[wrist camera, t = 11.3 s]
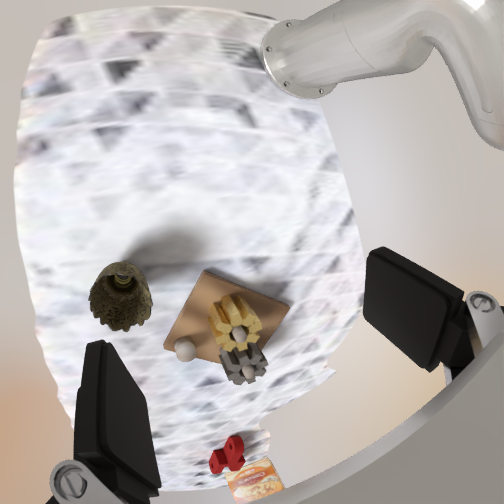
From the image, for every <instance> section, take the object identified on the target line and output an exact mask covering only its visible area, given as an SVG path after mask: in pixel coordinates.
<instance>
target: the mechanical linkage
mask: <svg viewBox="0 0 504 504" xmlns="http://www.w3.org/2000/svg"><path fill="white" fill-rule="evenodd" d="M243 452H244V443H243V440H242V439H241V437H240V436H235V437H228V439H227V442H226V444H225V446H224V448H223V449H222V450H214V451H213V453H212V456H211V458H210V460H209V466H210V470H211V472H212V473H213V474H218V473H221V472H222V470H223V469H224V467H229V469H230V470H231V471H232V472H234V471H239V470H240V469H241V468H242V466H243V465H244V463H245V462H246V461H245V459H244V457H243Z"/></svg>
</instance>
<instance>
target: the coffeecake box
mask: <svg viewBox="0 0 504 504" xmlns="http://www.w3.org/2000/svg"><path fill="white" fill-rule="evenodd" d="M225 477H226V480H227V482H228V485H229V487H230V489H231V492H232V495H233V497H234V499H235V502H236V504H245V503H248V502H251V501H254V500H257V499H260V498H263V497H266V496H268V495H271V494H274V493H276V492H279V491H281V490H284V489H286V488H285V486H284V484H283V483H282V481H281V479H280V477H279V475H278V473H277V471H276V470H275V468H274V466H273V464H272V462H271V461H270V460H269V459H268V457H267V458H264V459H262V460H260V461H257V462H255V463H252V464H250V465H247V466H245V467H242V468H241V469H240V470H239V471H234V472H232V471H231V472H228V473H225Z"/></svg>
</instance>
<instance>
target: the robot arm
mask: <svg viewBox="0 0 504 504" xmlns="http://www.w3.org/2000/svg"><path fill="white" fill-rule="evenodd" d="M434 47H435V48H436V49H437V50H438V51H439V52H440V54H441V56H442V57H443V59H444V61H445V63H446V65H447V66H448V68H449V70H450V72H451V74H452V76H453V78H454V81H455V83H456V86H457V88H458V90H459V93H460V95H461V98H462V100H463V103H464V105H465V108H466V110H467V113H468V115H469V118H470V120H471V123H472V125H473V126H474V128H475V130H476V132H477V133H478V134H479V136H480V137H481V138H482V139H483V140H484V141H485V142H486V143H488V144H489V145H490V146H493V147H494V148H497V149H499V150H503V151H504V0H340V1H338V2H336V3H334V4H332V5H330V6H328V7H327V8H325V9H323V10H321V11H319V12H317V13H315V14H314V15H312V16H310V17H308V18H307V19H305V20H287V21H283V22H280V23H278V24H277V25H275V26H274V27H272V28H271V29H270V30H269V31H268V32H267V33H266V35H265V37H264V39H263V41H262V45H261V59H262V64H263V66H264V68H265V71H266V73H267V74H268V76H269V77H270V79H271V80H272V81H273V82H274V83H275V85H276V86H278V87H279V88H280V89H281V90H282V91H284V92H286V93H288V94H289V95H292V96H294V97H297V98H302V99H314V98H319V97H323V96H325V95H327V94H328V93H330V92H331V91H332V90H333V89H334V88H335V87H336V85H337V84H338V83H341V82H346V81H352V80H358V79H365V78H371V77H379V76H386V75H395V74H404V73H408V72H411V71H414V70H416V69H417V68H419V67H420V66H421V65H422V64H423V63H424V62H425V61H426V60H427V58H428V57H429V55H430V53H431V52H432V50H433V48H434ZM267 50H268V51H267ZM284 84H285V86H284ZM463 296H464V291H462V290H461V289H459V288H457V287H456V286H454V285H452V284H451V283H449V282H447V281H445V280H444V279H442V278H440V277H439V276H437V275H435V274H434V273H432V272H430V271H428V270H427V269H425V268H423V267H421V266H419V265H418V264H416V263H414V262H412V261H410V260H409V259H407V258H405V257H403V256H401V255H399V254H398V253H396V252H394V251H392V250H390V249H388V248H386V247H380V248H377V249H374V250H372V251H371V252H370V253H369V256H368V257H367V261H366V279H365V292H364V304H363V316H364V318H365V320H367V322H369V323H370V324H371V325H372V326H373V327H375V328H376V329H377V330H378V331H379V332H380V333H382V334H383V335H384V336H385V337H386V338H387V339H388V340H390V341H391V342H392V343H393V344H394V345H395V346H396V347H398V348H399V349H400V350H401V351H402V352H403V353H405V354H406V355H407V356H408V357H409V358H410V359H411V360H412V361H414V362H415V363H416V364H417V365H418V366H419V367H421V368H425V369H426V370H427V371H428V372H432V371H433V370H434V369H435V368H436V367H437V366H439V363H440V361H441V362H442V363H443V366H444V372H445V379H446V387H445V388H444V389H443V390H442V391H441V392H440V393H439V394H437V395H436V396H435V397H434V398H433V399H432V400H430V401H429V402H428V403H427V404H426V405H424V406H423V407H422V408H421V409H420V410H418V411H417V412H416V413H415V414H413V415H412V416H411V417H409V418H408V419H407V420H405V421H404V422H403V423H401V424H400V425H399V426H397V427H396V428H394V429H393V430H392V431H390V432H389V433H387V434H386V435H384V436H383V437H382V438H380V439H379V440H377V441H375V442H374V443H372V444H371V445H370V446H368V447H366V448H365V449H363V450H361V451H360V452H358V453H356V454H355V455H353V456H351V457H350V458H348V459H346V460H344V461H342V462H340V463H339V464H337V465H335V466H333V467H331V468H329V469H327V470H325V471H324V472H321V473H320V474H317V475H316V476H313V477H311V478H309V479H307V480H305V481H303V482H300V483H298V484H296V485H293V486H291V487H289V488H286V489H284V490H281V491H279V492H276V493H274V494H271V495H268V496H266V497H263V498H260V499H257V500H254V501H251V502H248V503H245V504H504V306H499V304H498V302H497V300H496V299H495V298H494V297H493V296H491V295H490V294H488V293H485V292H482V291H473V292H471V293H469V294H468V295H467V297H466V301H465V302H464V301H462V298H463ZM50 487H51V491H52V493H53V496H52V497H51V498H50V499H49V500H48V502H47V503H46V504H150V500H149V498H150V497H157V496H159V493H158V488H161V480H160V475H159V471H158V466H157V462H156V457H155V452H154V446H153V441H152V435H151V429H150V423H149V416H148V409H147V402H146V399H145V396H144V394H143V393H142V391H141V390H140V388H139V387H138V385H137V384H136V382H135V381H134V379H133V378H132V376H131V375H130V373H129V371H128V370H127V368H126V367H125V365H124V363H123V362H122V360H121V359H120V357H119V355H118V353H117V352H116V350H115V348H114V347H113V345H112V344H111V343H110V342H109V343H106V342H105V341H104V340H99V341H95V342H91V343H88V344H87V346H86V352H85V358H84V365H83V372H82V380H81V387H80V388H79V389H78V392H77V400H76V411H75V426H74V460H65V461H62V462H60V463H59V464H58V465H56V466H55V468H54V469H53V470H52V473H51V476H50Z"/></svg>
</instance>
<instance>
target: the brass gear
mask: <svg viewBox="0 0 504 504" xmlns="http://www.w3.org/2000/svg"><path fill="white" fill-rule="evenodd" d="M220 298H221V305H219V304H218V305H217V304H215V303H213V304H212V305H211V307H210V308H209V312H210V315H211V316H209V317H207V319H208V322H209V325H210V328H211V330H212V333H213V335H214V337H215V340H216V342H217V345H218V344H221V346H222V349H223V350H226V351H229V352H231V350H232V349H233V348H235V347H237V348H238V350H239V351H242V350H245V349H248V348H247V342H253V343H256V341H257V340H258V339H259V337H260V336H259V334H258V333H257V331H259V330H261V329H262V324H261V321H260V320H259V318H258V317H257V315H256V314H255V312H254V311H253V309H252V308H251V306H250V305H249V304H248V303H247V302H246V300H245V299H244V298H243V297H241V296H238V295H237V296H236V298H235V299H234V300H233V301H232V299H231V298H230V296H229V295H226V296H223V297H220ZM239 325H241V326H242V328H243V330H244V331H245V333H246V335H247V339H246V341H244V342H243V343H238V342H237V341H236V340H235V338H234V336H233V334H232V332H231V330H232V329H233V327H236V326H239Z"/></svg>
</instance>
